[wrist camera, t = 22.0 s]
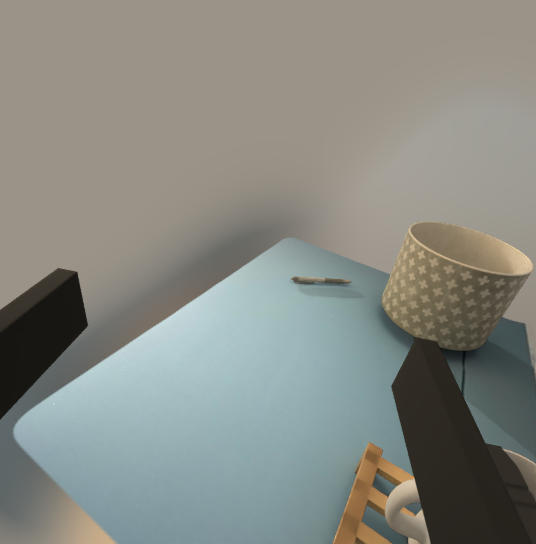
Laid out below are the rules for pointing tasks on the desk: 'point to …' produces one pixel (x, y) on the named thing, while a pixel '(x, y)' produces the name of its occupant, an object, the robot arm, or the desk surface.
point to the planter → (453, 284)
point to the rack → (368, 498)
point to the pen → (319, 280)
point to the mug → (416, 525)
